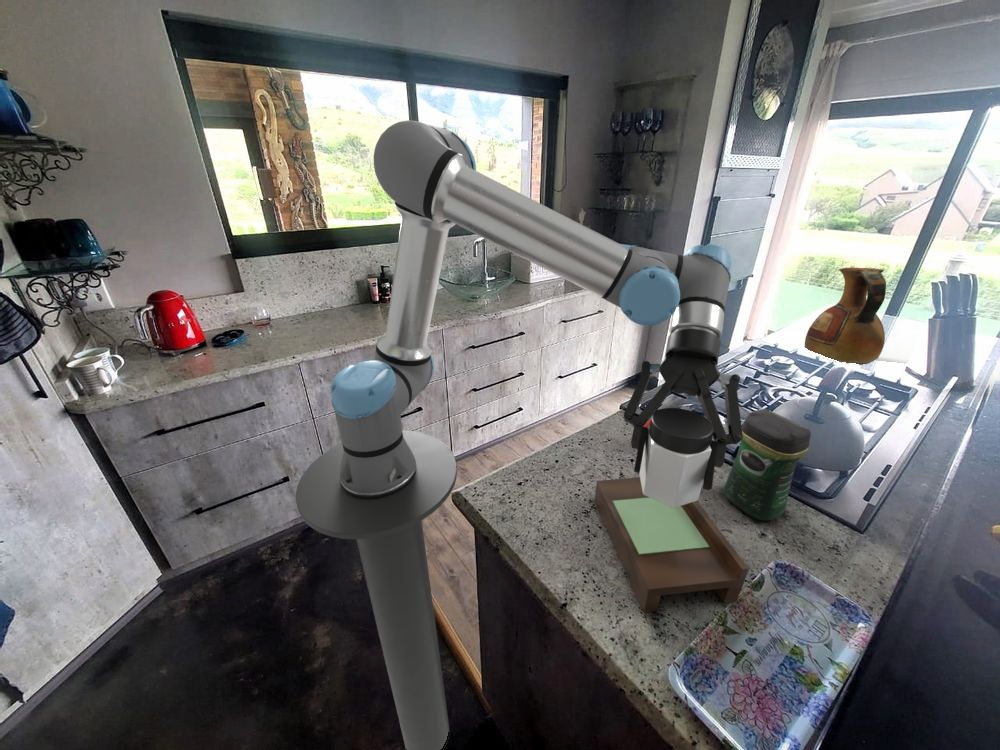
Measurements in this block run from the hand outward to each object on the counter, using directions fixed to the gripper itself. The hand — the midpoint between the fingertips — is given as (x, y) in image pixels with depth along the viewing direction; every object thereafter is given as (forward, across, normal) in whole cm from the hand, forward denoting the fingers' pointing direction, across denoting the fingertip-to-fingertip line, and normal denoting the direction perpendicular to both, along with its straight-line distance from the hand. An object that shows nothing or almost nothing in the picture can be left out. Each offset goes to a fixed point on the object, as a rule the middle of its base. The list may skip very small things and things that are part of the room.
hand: (670, 479), depth 57 cm
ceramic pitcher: (-63, -48, -87) cm, 117 cm away
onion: (-10, +3, -34) cm, 36 cm away
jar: (+1, 0, -5) cm, 5 cm away
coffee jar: (-3, -16, -26) cm, 31 cm away
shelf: (+9, 0, -14) cm, 17 cm away
